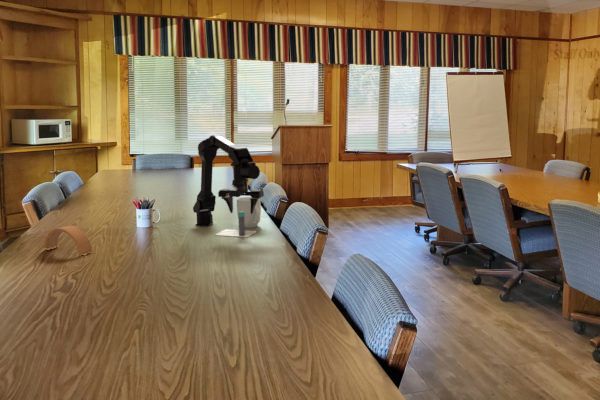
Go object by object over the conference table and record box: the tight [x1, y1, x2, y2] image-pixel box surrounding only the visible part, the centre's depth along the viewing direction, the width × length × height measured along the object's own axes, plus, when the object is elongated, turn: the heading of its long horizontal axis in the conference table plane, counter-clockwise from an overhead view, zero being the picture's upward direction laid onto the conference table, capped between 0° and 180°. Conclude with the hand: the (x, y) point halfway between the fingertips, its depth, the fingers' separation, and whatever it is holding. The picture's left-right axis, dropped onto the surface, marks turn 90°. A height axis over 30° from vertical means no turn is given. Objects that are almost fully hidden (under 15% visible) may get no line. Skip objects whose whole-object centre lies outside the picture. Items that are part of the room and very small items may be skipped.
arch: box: [43, 225, 93, 255], centre depth 212 cm, size 6×20×10 cm, turn 63°
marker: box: [237, 212, 246, 236], centre depth 234 cm, size 3×3×10 cm
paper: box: [215, 228, 258, 238], centre depth 238 cm, size 15×11×1 cm
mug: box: [236, 196, 262, 229], centre depth 250 cm, size 15×11×13 cm
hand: (241, 213), depth 233 cm, fingers open, 9 cm apart
